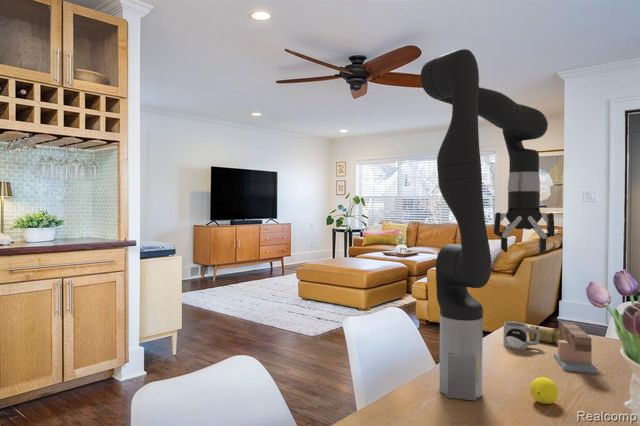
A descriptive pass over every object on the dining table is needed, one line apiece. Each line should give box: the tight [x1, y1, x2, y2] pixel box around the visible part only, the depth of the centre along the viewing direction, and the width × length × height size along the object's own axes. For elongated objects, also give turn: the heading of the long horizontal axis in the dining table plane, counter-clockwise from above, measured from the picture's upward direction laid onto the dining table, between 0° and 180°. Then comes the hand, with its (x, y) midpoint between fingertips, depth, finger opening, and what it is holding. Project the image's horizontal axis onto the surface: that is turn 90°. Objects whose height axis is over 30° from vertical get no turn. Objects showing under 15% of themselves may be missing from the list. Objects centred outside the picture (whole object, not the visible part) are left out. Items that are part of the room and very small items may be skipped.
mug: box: [502, 321, 540, 351], centre depth 135 cm, size 10×7×7 cm
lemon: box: [529, 376, 559, 405], centre depth 96 cm, size 7×5×5 cm
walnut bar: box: [559, 321, 592, 352], centre depth 120 cm, size 16×4×4 cm, turn 165°
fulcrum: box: [553, 340, 598, 374], centre depth 120 cm, size 11×8×6 cm
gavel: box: [527, 325, 565, 346], centre depth 146 cm, size 21×5×10 cm
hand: (523, 252), depth 116 cm, fingers open, 8 cm apart
